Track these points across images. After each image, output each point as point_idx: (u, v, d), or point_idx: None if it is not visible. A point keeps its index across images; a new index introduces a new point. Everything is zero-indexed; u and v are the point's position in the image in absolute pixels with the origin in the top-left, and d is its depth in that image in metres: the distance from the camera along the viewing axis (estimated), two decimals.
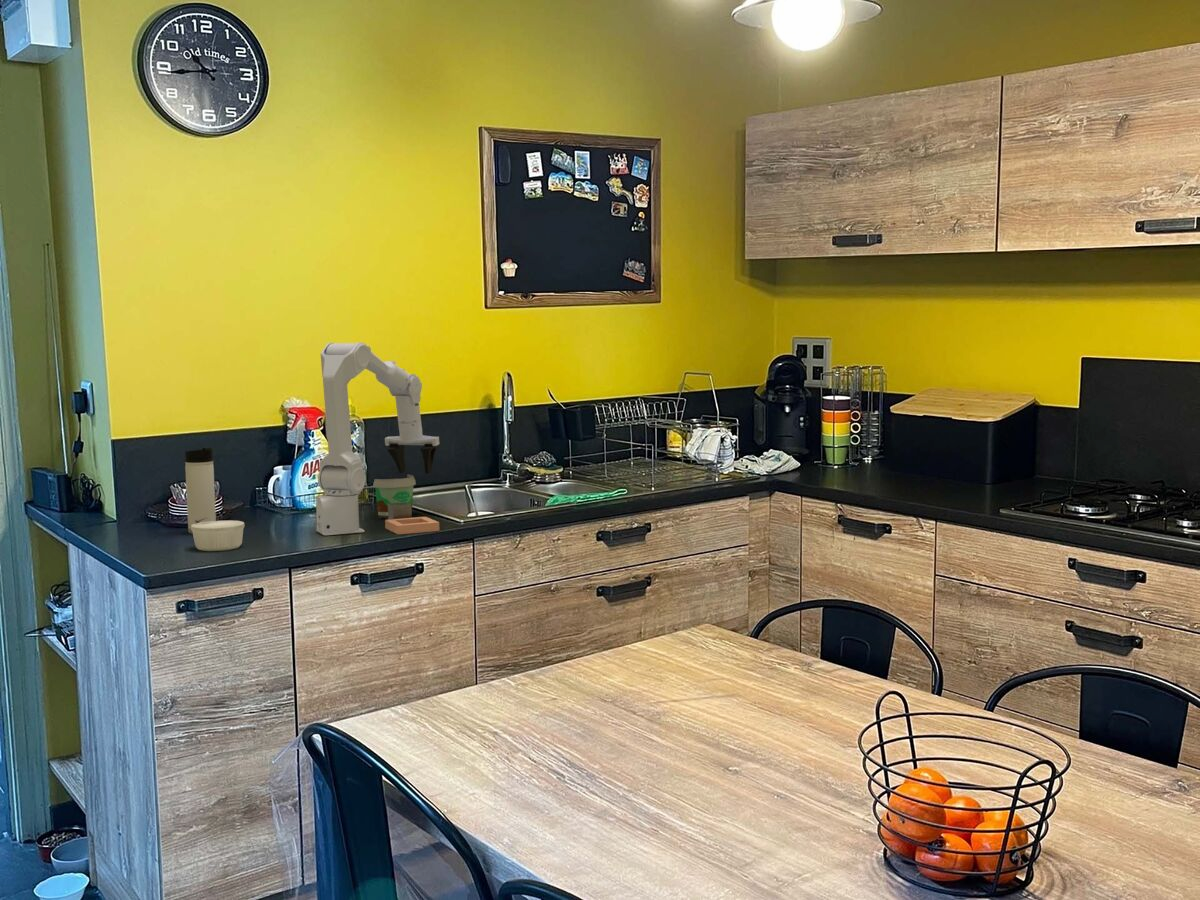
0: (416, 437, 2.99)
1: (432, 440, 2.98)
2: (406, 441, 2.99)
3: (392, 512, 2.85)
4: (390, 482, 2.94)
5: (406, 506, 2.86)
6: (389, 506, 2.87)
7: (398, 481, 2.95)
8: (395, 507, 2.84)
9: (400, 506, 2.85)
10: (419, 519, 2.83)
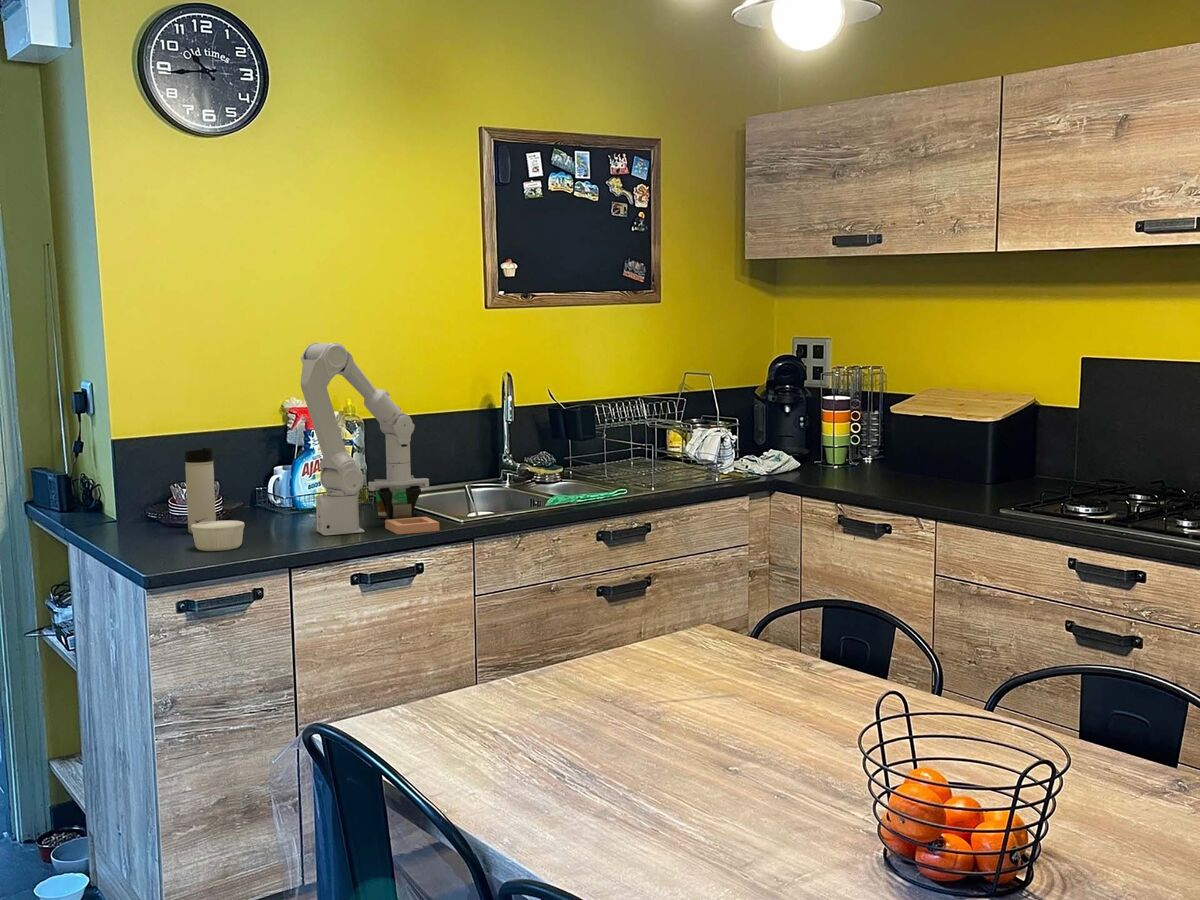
0: (410, 478, 2.86)
1: (425, 481, 2.88)
2: (403, 482, 2.84)
3: (392, 511, 2.85)
4: None
5: (406, 506, 2.85)
6: None
7: None
8: (395, 507, 2.84)
9: (400, 506, 2.85)
10: (419, 519, 2.83)
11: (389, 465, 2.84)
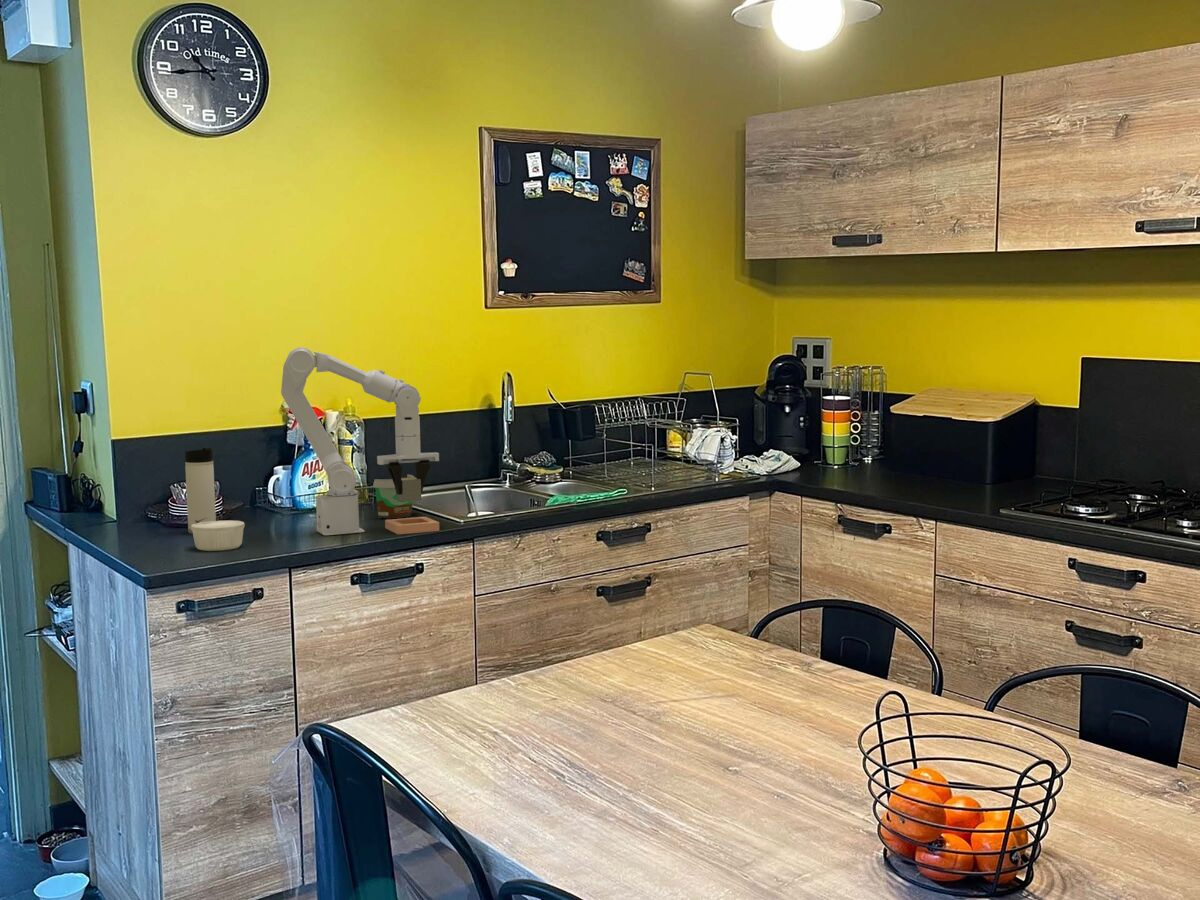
0: (419, 452, 2.78)
1: (435, 455, 2.81)
2: (413, 456, 2.76)
3: None
4: (390, 482, 2.94)
5: (415, 481, 2.78)
6: None
7: None
8: (404, 482, 2.77)
9: (409, 481, 2.77)
10: (419, 519, 2.83)
11: (398, 438, 2.76)
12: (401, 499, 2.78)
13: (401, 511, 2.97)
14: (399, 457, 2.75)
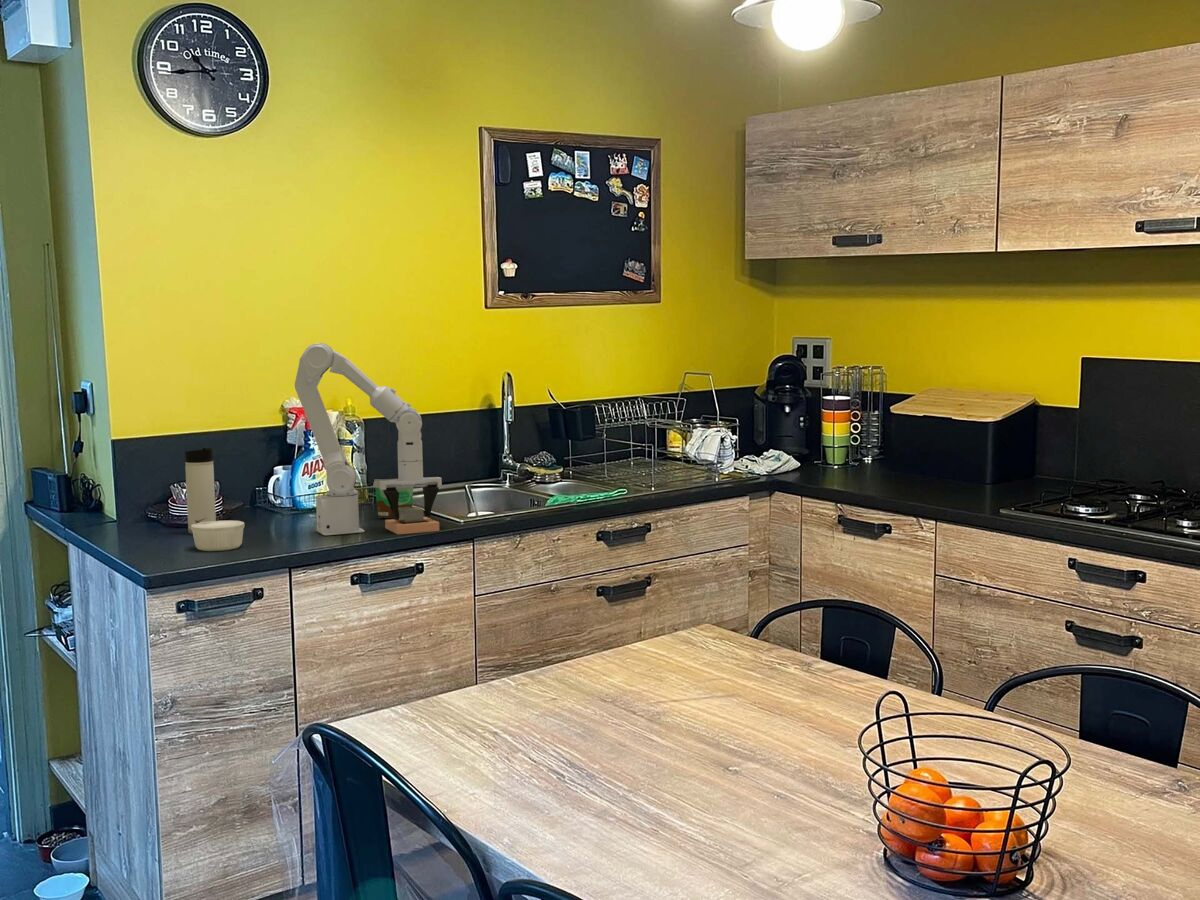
0: (422, 477, 2.77)
1: (438, 479, 2.80)
2: (415, 481, 2.75)
3: (404, 517, 2.76)
4: None
5: (418, 511, 2.77)
6: (400, 511, 2.79)
7: None
8: (407, 512, 2.76)
9: (412, 511, 2.77)
10: None
11: (401, 463, 2.75)
12: None
13: None
14: (401, 482, 2.75)
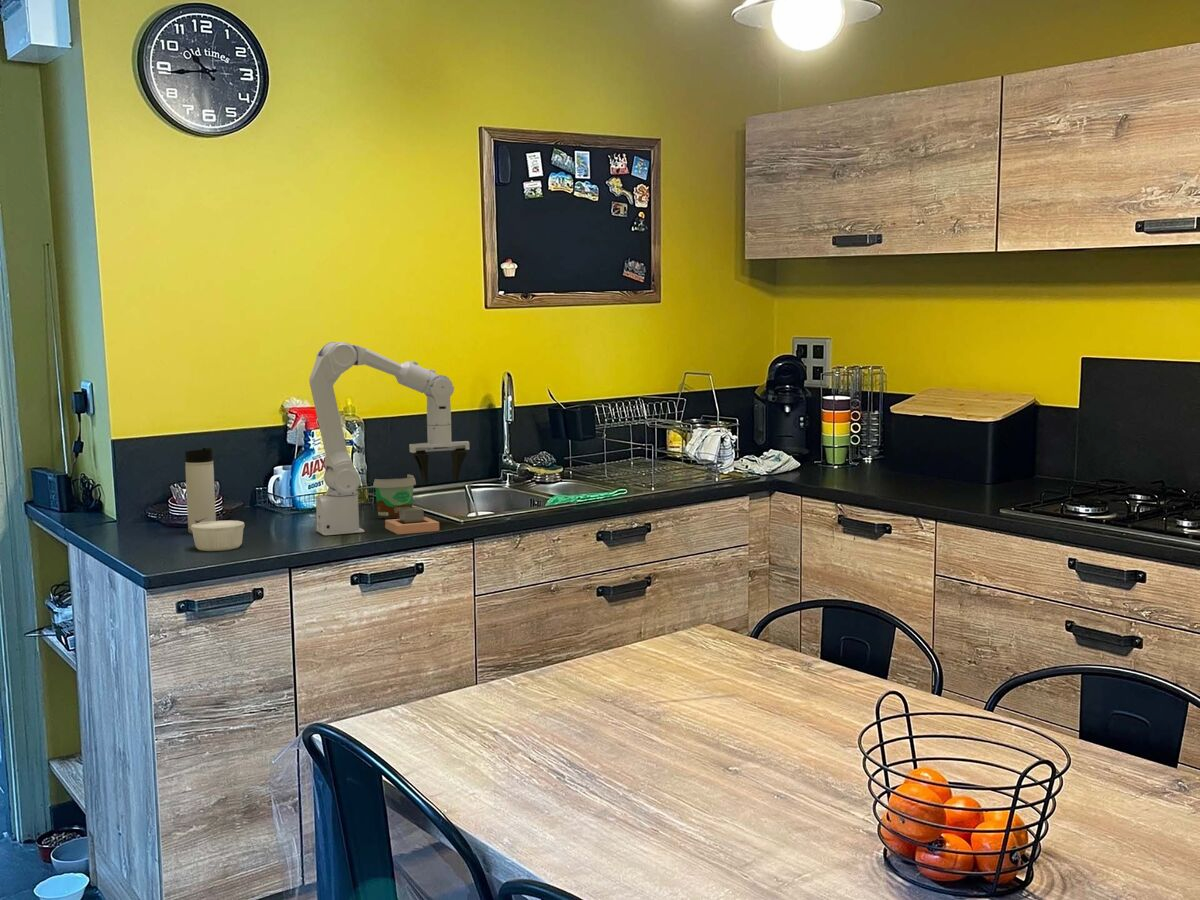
0: (451, 441, 2.85)
1: (466, 443, 2.88)
2: (444, 445, 2.83)
3: (404, 517, 2.76)
4: (390, 482, 2.94)
5: (418, 511, 2.77)
6: (401, 511, 2.79)
7: (398, 481, 2.95)
8: (407, 512, 2.76)
9: (412, 511, 2.77)
10: None
11: (430, 427, 2.83)
12: None
13: None
14: (431, 445, 2.82)
